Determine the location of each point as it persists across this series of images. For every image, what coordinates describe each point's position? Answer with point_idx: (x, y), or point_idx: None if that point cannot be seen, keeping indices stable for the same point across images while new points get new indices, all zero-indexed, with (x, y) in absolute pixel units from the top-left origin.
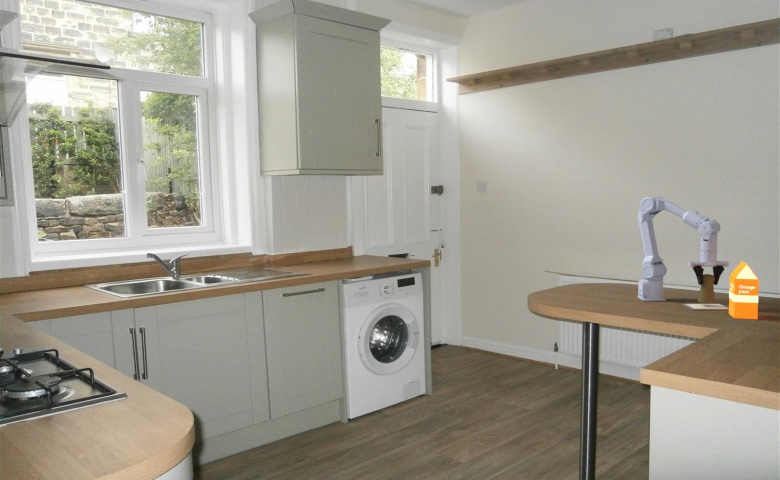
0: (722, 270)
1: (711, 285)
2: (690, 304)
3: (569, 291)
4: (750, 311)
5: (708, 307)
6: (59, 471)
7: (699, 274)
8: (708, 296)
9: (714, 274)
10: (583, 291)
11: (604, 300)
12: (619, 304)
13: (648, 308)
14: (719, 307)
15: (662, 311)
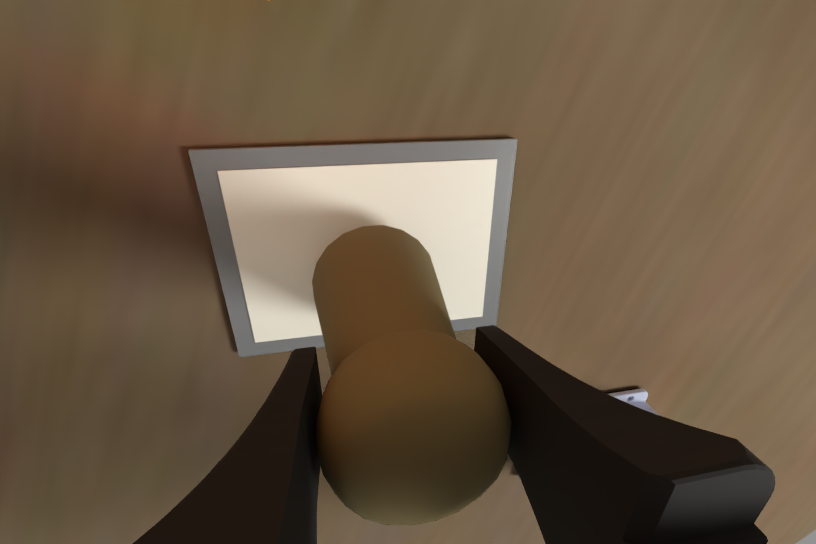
0: (162, 542)
1: (372, 325)
2: (459, 304)
3: (781, 515)
4: None
5: (379, 207)
6: None
7: (610, 400)
8: (390, 251)
9: (311, 513)
10: None
11: (795, 376)
12: (806, 290)
13: (748, 187)
14: (292, 213)
15: (736, 81)
